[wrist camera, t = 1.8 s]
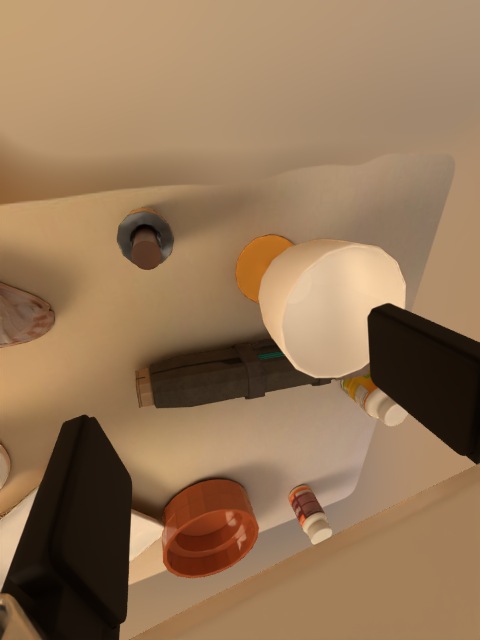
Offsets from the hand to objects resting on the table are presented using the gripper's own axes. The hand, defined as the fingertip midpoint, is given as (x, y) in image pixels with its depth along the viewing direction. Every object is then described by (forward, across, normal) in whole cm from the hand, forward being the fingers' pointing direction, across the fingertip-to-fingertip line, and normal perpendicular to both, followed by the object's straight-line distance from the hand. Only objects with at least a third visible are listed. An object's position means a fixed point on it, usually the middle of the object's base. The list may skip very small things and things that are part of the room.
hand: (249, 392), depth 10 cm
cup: (+29, -11, +6) cm, 31 cm away
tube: (+29, -5, +17) cm, 34 cm away
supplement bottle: (+29, -22, +29) cm, 46 cm away
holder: (+28, +2, -3) cm, 29 cm away
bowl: (+28, +9, +44) cm, 53 cm away
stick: (+28, +2, -3) cm, 28 cm away
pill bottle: (+29, -8, +51) cm, 59 cm away
